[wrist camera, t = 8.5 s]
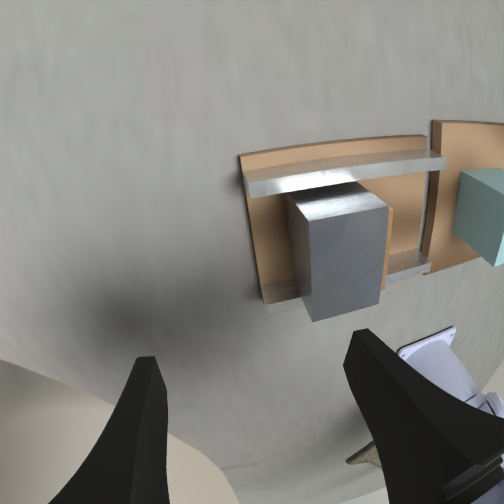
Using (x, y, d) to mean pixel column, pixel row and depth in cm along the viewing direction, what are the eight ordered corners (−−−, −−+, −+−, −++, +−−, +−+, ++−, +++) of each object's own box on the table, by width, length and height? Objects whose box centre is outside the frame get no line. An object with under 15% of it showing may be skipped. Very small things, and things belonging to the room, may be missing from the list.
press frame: (485, 247, 23) (502, 261, 21) (263, 308, 22) (271, 334, 20) (504, 123, 17) (527, 132, 15) (236, 137, 16) (242, 146, 13)
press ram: (358, 263, 20) (387, 300, 16) (292, 279, 20) (312, 321, 16) (361, 177, 17) (399, 204, 13) (284, 189, 16) (308, 221, 13)
